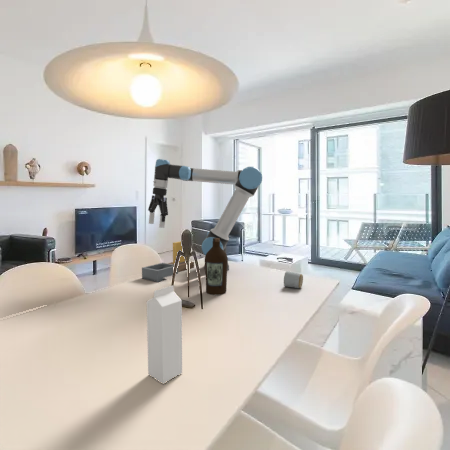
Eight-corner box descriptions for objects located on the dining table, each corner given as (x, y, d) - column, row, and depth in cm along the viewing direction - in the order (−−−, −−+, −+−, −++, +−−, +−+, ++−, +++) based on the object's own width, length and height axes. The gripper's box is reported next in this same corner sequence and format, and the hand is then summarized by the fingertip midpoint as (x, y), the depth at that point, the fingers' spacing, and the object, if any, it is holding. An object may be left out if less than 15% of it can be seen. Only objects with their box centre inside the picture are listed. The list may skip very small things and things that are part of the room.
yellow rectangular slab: (186, 267, 181) (186, 241, 180) (175, 270, 174) (175, 242, 172) (183, 267, 182) (183, 240, 181) (173, 270, 175) (172, 242, 173)
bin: (178, 276, 167) (177, 265, 167) (157, 282, 155) (157, 270, 155) (162, 272, 174) (162, 262, 174) (142, 278, 162) (141, 267, 161)
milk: (182, 374, 75) (182, 287, 73) (163, 385, 71) (162, 293, 69) (166, 365, 79) (166, 282, 77) (147, 375, 75) (146, 288, 72)
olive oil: (207, 287, 146) (207, 236, 144) (229, 289, 145) (229, 237, 142) (202, 295, 136) (202, 239, 133) (225, 296, 134) (226, 240, 132)
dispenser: (194, 270, 181) (194, 260, 181) (177, 275, 170) (177, 265, 169) (181, 267, 187) (181, 258, 186) (165, 272, 175) (165, 262, 175)
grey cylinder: (300, 290, 143) (300, 274, 142) (283, 288, 147) (283, 272, 146) (304, 284, 153) (305, 269, 152) (288, 282, 156) (288, 268, 156)
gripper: (144, 185, 175) (141, 221, 178) (164, 188, 156) (160, 229, 158) (156, 187, 180) (152, 222, 182) (177, 190, 161) (172, 229, 163)
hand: (156, 225), depth 170 cm, fingers open, 13 cm apart
